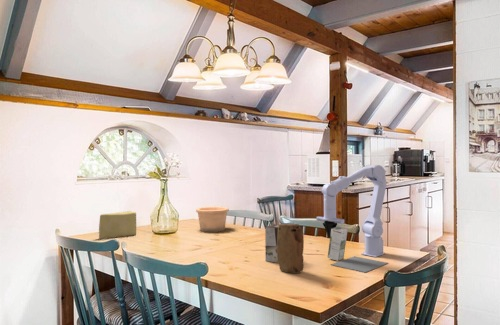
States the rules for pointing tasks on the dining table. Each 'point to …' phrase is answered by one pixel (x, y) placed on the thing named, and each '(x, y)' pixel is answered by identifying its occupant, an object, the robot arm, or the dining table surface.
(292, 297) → the dining table surface
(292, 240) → the block
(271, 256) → the coffee box
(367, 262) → the mat
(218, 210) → the pottery
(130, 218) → the cheese
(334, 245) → the syrup box
